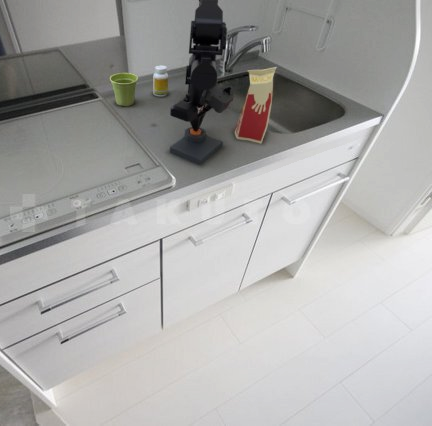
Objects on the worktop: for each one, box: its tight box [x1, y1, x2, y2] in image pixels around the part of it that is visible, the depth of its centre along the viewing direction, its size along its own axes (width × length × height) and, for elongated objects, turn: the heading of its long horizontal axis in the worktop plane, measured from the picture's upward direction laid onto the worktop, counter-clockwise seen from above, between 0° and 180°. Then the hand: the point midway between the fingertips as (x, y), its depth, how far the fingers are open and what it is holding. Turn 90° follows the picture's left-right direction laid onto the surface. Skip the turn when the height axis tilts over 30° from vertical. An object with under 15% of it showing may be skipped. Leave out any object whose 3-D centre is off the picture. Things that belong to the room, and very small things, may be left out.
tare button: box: [190, 129, 201, 135], centre depth 87 cm, size 3×3×2 cm
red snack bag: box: [234, 66, 278, 145], centre depth 87 cm, size 9×9×20 cm
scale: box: [169, 126, 224, 166], centre depth 85 cm, size 12×10×4 cm
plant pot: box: [109, 72, 139, 107], centre depth 104 cm, size 9×9×9 cm
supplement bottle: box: [152, 65, 169, 98], centre depth 110 cm, size 5×5×10 cm
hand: (195, 130), depth 87 cm, fingers closed, pressing on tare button
